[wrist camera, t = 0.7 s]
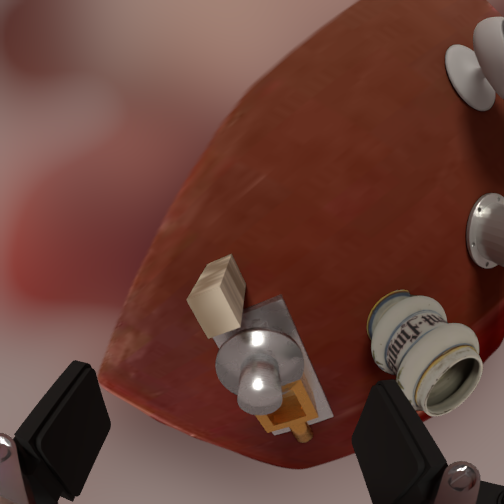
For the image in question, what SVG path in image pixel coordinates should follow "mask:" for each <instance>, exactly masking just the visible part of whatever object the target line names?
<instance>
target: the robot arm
mask: <svg viewBox="0 0 504 504" xmlns="http://www.w3.org/2000/svg"><path fill="white" fill-rule="evenodd" d="M466 241H467V248H468V251H469V254H470V256H471V258H472V260H473V261H474V263H476V264H477V265H478V266H480V267H482V268H486V269H488V268H493V267H495V266H497V265H500V266H502V267H504V197H503V196H501V195H500V194H496V193H487V194H485V195H483V196H482V197H480V198H479V199H478V200H477V202H476V203H475V204H474V206H473V208H472V210H471V213H470V216H469V219H468V224H467V231H466ZM110 427H111V422H110V418H109V416H108V413H107V409H106V406H105V403H104V400H103V397H102V394H101V391H100V387H99V383H98V380H97V376H96V372H95V370H94V369H92V368H91V365H90V364H88V363H84V362H80V361H76V360H75V361H73V362H72V363H71V364H70V365H69V366H68V367H67V369H66V370H65V371H64V372H63V373H62V374H61V376H60V377H59V378H58V379H57V381H56V382H55V383H54V384H53V385H52V387H51V388H50V389H49V390H48V391H47V393H46V394H45V395H44V397H43V398H42V399H41V400H40V401H39V403H38V404H37V405H36V407H35V408H34V409H33V410H32V412H31V413H30V414H29V416H28V417H27V418H26V420H25V421H24V422H23V423H22V425H21V426H20V427H19V429H18V430H17V431H16V433H15V434H14V435H15V437H14V439H12V438H11V437H10V436H8V435H6V434H4V433H0V504H58V500H59V498H60V496H61V497H63V498H66V499H68V500H70V501H73V500H74V498H75V496H79V495H80V493H81V491H82V489H83V486H84V484H85V482H86V480H87V478H88V475H89V473H90V471H91V469H92V466H93V464H94V462H95V460H96V458H97V456H98V454H99V451H100V449H101V447H102V445H103V443H104V441H105V439H106V437H107V435H108V432H109V430H110ZM352 445H353V448H354V451H355V453H356V456H357V459H358V462H359V465H360V468H361V470H362V473H363V476H364V479H365V482H366V485H367V488H368V491H369V494H370V497H371V500H372V503H373V504H504V486H501V485H497V484H492V483H488V482H484V481H480V474H479V471H478V470H477V468H476V467H475V466H474V465H472V464H471V463H468V462H463V461H459V462H454V463H452V464H450V465H449V466H448V465H447V463H446V462H447V461H446V459H445V458H444V456H443V455H442V453H441V451H440V449H439V448H438V446H437V445H436V443H435V441H434V440H433V438H432V436H431V435H430V433H429V432H428V430H427V428H426V427H425V425H424V424H423V422H422V420H421V419H420V417H419V416H418V414H417V413H416V411H415V409H414V408H413V406H412V405H411V403H410V402H409V400H408V399H407V397H406V396H405V394H404V392H403V391H402V389H401V388H400V386H399V385H398V383H397V382H396V381H395V380H393V379H391V380H383V381H378V382H377V383H376V385H374V386H373V387H372V388H371V391H370V393H369V396H368V399H367V401H366V404H365V406H364V409H363V411H362V414H361V416H360V419H359V421H358V424H357V426H356V428H355V431H354V433H353V435H352Z"/></svg>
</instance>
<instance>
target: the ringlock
mask: <svg viewBox="0 0 504 504" xmlns="http://www.w3.org/2000/svg"><path fill="white" fill-rule="evenodd" d="M213 339H214V341H215V342H216V344H217V346H218V347H219V351H218V354H217V358H216V373H217V375H218V378H219V380H220V381H221V383H222V384H223V385H224V386H225V387H226V388H227V389H228V390H229V391H231V392H232V393H234V394H236V395H238V398H237V401H238V405H239V406H240V408H241V409H242V410H244V411H245V412H247V413H249V414H253V415H255V416H256V417H257V419H258V420H259V422H260V423H261V425H262V426H263V427H264V429H265V430H266V432H267V433H269V432H272V433H273V434H274V435H278V434H281V433H285V432H288V431H292V433H293V435H294V436H295V438H296V439H297V441H298V442H301V443H305V442H308V441H309V440H311V438H312V437H313V431H312V430H311V428H310V426H309V425H311V424H314V423H317V422H320V421H323V420H325V419H328V418H331V417H334V416H333V413H332V410H331V407H330V405H329V403H328V400H327V398H326V396H325V393H324V391H323V389H322V386H321V384H320V382H319V379H318V377H317V375H316V372H315V370H314V368H313V366H312V363H311V361H310V359H309V356H308V354H307V352H306V349H305V347H304V345H303V343H302V340H301V338H300V336H299V333H298V331H297V329H296V327H295V324H294V322H293V320H292V317H291V315H290V313H289V311H288V308H287V306H286V304H285V301H284V299H283V297H282V295H278V296H276V297H273V298H271V299H269V300H266V301H263V302H261V303H258V304H256V305H253V306H251V307H248V308H246V309H243V312H242V320H241V327H240V328H237V329H234V330H232V331H229V332H226V333H223V334H220V335H218V336H215V337H213Z"/></svg>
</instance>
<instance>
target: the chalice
mask: <svg viewBox="0 0 504 504" xmlns="http://www.w3.org/2000/svg"><path fill="white" fill-rule="evenodd" d="M473 47H474V51H475V52H474V51H472V50H471V49H469V48H467V47H465V46H463V45H452V46H451V47H449V48H448V50H447V52H446V55H445V65H446V70H447V73H448V76H449V79H450V81H451V83H452V85H453V87H454V88H455V90H456V91H457V93H458V94H459V95H460V97H461V98H462V99H463V100H464V101H465V102H466V103H467V104H468V105H470V106H471V107H473V108H474V109H476V110H479V111H486V110H489V109H490V108H491V107H492V106H493V104H494V101H495V91H496V93H497V94H498V95H499V96H500V97H501V98H502V99H504V17H491V18H487V19H484V20H483V21H481V22H480V23H478V24H477V26H476V28H475V30H474V35H473Z"/></svg>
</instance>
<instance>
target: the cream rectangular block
mask: <svg viewBox="0 0 504 504" xmlns="http://www.w3.org/2000/svg"><path fill="white" fill-rule="evenodd" d="M245 287H246V283H245V281H244V279H243V277H242V275H241V273H240V270H239V268H238V266H237V264H236V262H235V260H234V258H233V256H232V254H230V255H228V256H225V257H223V258H221V259H218V260H216V261H214V262H211V263H209V264H207V266H206V268H205V269H204V271H203V273H202V274H201V276H200V278H199V280H198V281H197V283H196V285H195V286H194V288H193V290H192V291H191V293H190V295H189V297H188V298H187V302H188V304H189V306H190V307H191V309H192V311H193V313H194V315H195V316H196V318H197V320H198V322H199V324H200V325H201V327H202V329H203V331H204V332H205V334H206V336H207V337H208V339H209V338H212V337H215V336H218V335H220V334H223V333H226V332H229V331H232V330H234V329H237V328H240V327H241V320H242V312H243V304H244V296H245Z"/></svg>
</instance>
